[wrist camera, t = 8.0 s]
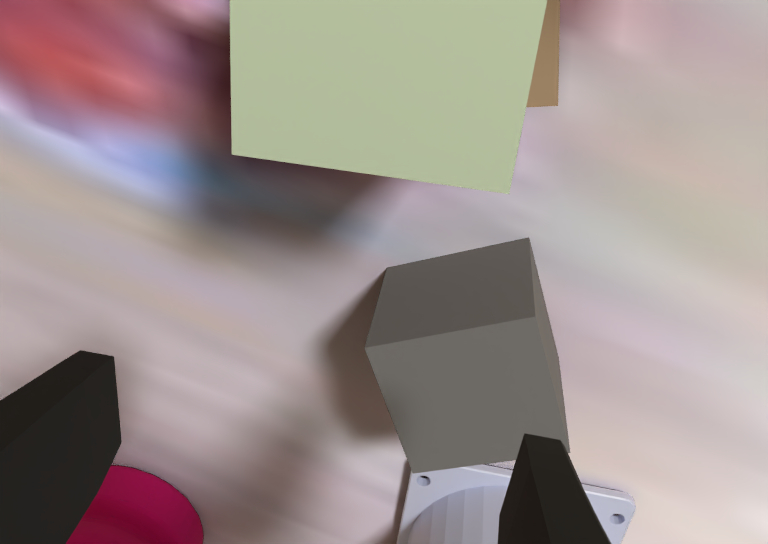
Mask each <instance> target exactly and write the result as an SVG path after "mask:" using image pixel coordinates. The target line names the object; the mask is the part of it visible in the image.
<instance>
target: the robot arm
mask: <svg viewBox="0 0 768 544" xmlns="http://www.w3.org/2000/svg"><path fill="white" fill-rule="evenodd" d="M120 444H121V432H120V420H119V409H118V397H117V386H116V375H115V363H114V357H113V356H108V355H102V354H97V353H92V352H86V351H81V350H80V351H79V352H77V353H75V354H74V355H72V356H70V357H69V358H67V359H65V360H64V361H62V362H61V363H59V364H57V365H56V366H54V367H53V368H51V369H50V370H48V371H46V372H45V373H43V374H42V375H40V376H39V377H37V378H35V379H34V380H32V381H31V382H29V383H28V384H26V385H24V386H23V387H21V388H20V389H18V390H17V391H15V392H13V393H12V394H10V395H8V396H7V397H5V398H4V399H2V400H0V544H66V542H67V541H68V539H69V538H70V536H71V535H72V533H73V531H74V530H75V528H76V527H77V525H78V524H79V522H80V520H81V519H82V517H83V516H84V514H85V513H86V511H87V509H88V508H89V506H90V505H91V503H92V501H93V500H94V498H95V496H96V495H97V493H98V491H99V489H100V487H101V485H102V483H103V481H104V479H105V477H106V475H107V473H108V471H109V468H110V466H111V464H112V462H113V460H114V458H115V455H116V453H117V451H118V449H119V447H120ZM420 476H427V477H428V478H422V477H420ZM635 508H636V507H635V502H634V499H633V497H632V496H631V495H630V494H628V493H625V492H621V491H616V490H611V489H606V488H601V487H596V486H590V485H585V484H581V482H580V480H579V478H578V475H577V473H576V471H575V469H574V466H573V464H572V462H571V460H570V457H569V455H568V453H567V450H566V448H565V446H564V444H563V443H562V442H561V440H558V439H553V438H548V437H542V436H537V435H531V434H526V433H524V436H523V439H522V443H521V446H520V449H519V452H518V456H517V459H516V462H515V465H514V469H513V470H509V469H503V468H498V467H493V466H488V465H483V464H481V465H474V466H466V467H459V468H451V469H444V470H436V471H429V472H421V473H414V474H413V473H412V470H411V473H410V478H409V483H408V488H407V493H406V498H405V503H404V508H403V513H402V518H401V523H400V528H399V533H398V538H397V542H396V544H621V542H622V540H623V538H624V535H625V533H626V531H627V529H628V526H629V524H630V522H631V519H632V517H633V515H634V512H635ZM613 514H620V515H618V516H613Z"/></svg>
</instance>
